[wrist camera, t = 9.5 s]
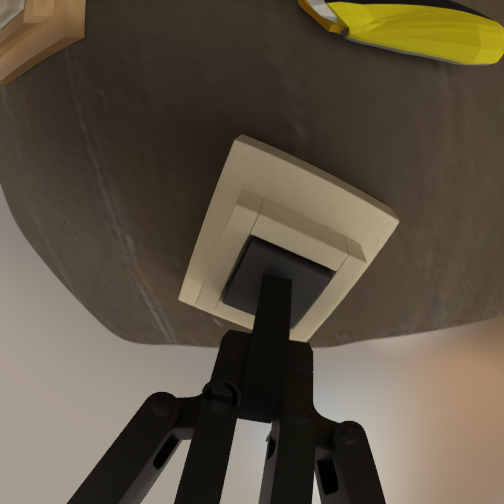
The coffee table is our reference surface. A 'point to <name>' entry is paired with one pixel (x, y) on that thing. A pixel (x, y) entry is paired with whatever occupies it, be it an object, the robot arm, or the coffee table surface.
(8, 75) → the key block
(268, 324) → the robot arm
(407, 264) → the coffee table surface
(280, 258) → the black key
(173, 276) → the coffee table surface
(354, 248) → the key block
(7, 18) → the ivory key
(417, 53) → the gaming controller
